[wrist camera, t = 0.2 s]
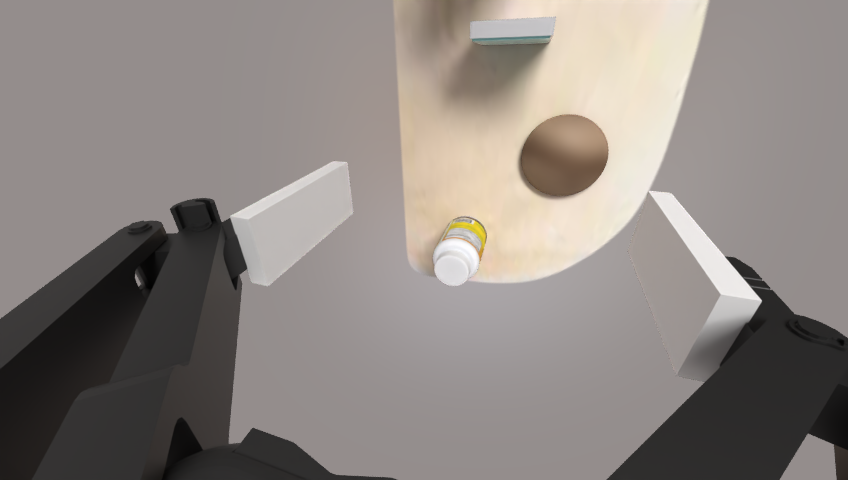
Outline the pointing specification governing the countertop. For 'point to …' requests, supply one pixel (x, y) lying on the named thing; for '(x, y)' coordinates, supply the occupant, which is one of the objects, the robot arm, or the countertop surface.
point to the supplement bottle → (459, 250)
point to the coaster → (564, 155)
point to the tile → (512, 31)
